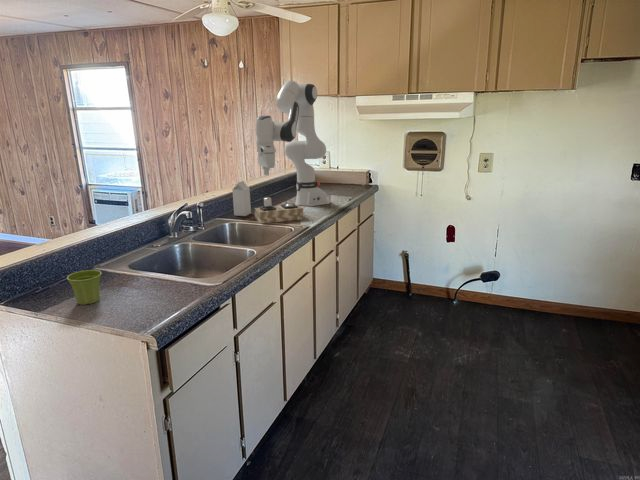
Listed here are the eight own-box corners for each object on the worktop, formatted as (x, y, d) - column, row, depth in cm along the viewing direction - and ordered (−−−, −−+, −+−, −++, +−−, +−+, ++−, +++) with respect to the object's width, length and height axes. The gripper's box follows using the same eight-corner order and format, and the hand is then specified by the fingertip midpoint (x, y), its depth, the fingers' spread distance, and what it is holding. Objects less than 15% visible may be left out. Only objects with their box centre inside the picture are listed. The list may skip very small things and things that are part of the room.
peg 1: (270, 209, 238) (270, 197, 236) (272, 210, 234) (272, 198, 232) (263, 210, 236) (262, 197, 235) (265, 211, 233) (264, 199, 231)
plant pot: (88, 293, 142) (83, 268, 139) (112, 296, 139) (108, 271, 137) (64, 305, 133) (59, 278, 131) (89, 309, 131) (84, 281, 128)
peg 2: (291, 215, 243) (291, 203, 242) (294, 217, 240) (293, 205, 238) (285, 216, 242) (284, 204, 240) (287, 217, 238) (286, 205, 237)
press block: (296, 214, 249) (296, 202, 247) (303, 219, 238) (303, 206, 236) (255, 218, 240) (254, 206, 238) (260, 223, 229) (259, 210, 227)
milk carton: (251, 213, 252) (249, 180, 247) (245, 216, 246) (243, 182, 241) (240, 213, 255) (238, 180, 249) (234, 215, 248) (231, 182, 243)
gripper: (254, 147, 234) (255, 173, 238) (264, 149, 216) (265, 177, 220) (265, 146, 237) (267, 172, 240) (276, 149, 218) (277, 177, 222)
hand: (266, 175), depth 230 cm, fingers closed
